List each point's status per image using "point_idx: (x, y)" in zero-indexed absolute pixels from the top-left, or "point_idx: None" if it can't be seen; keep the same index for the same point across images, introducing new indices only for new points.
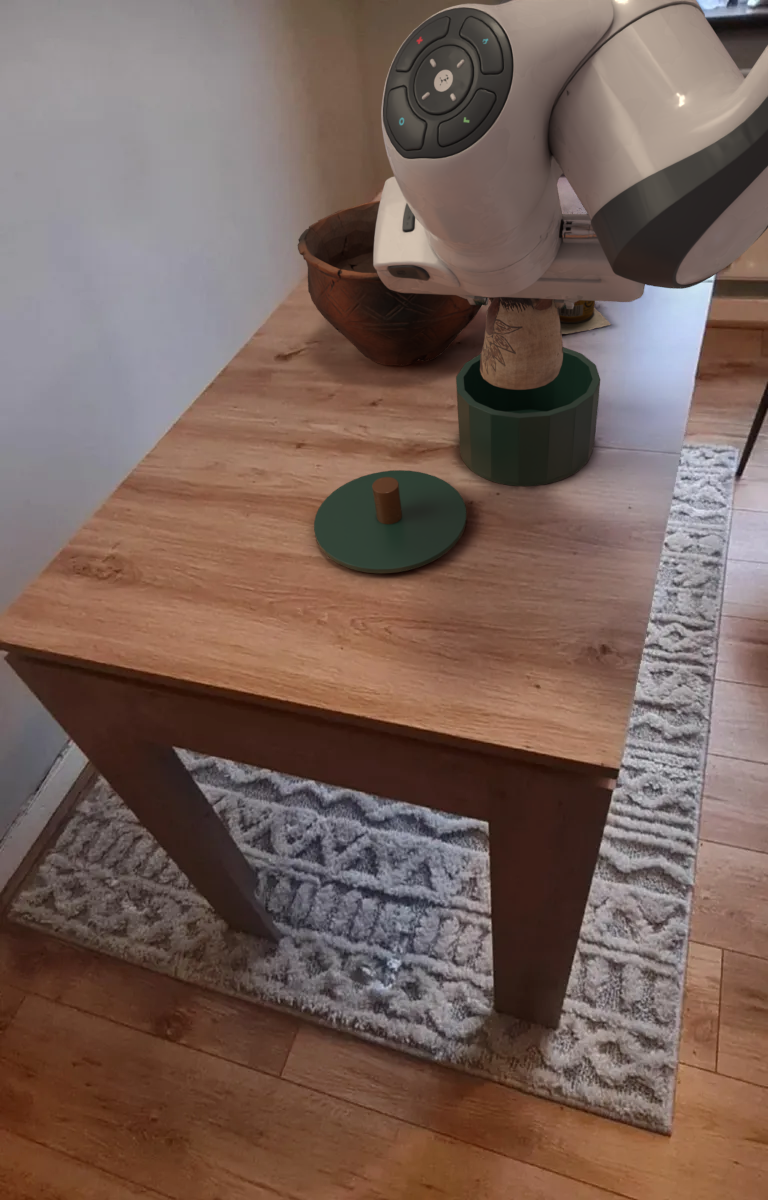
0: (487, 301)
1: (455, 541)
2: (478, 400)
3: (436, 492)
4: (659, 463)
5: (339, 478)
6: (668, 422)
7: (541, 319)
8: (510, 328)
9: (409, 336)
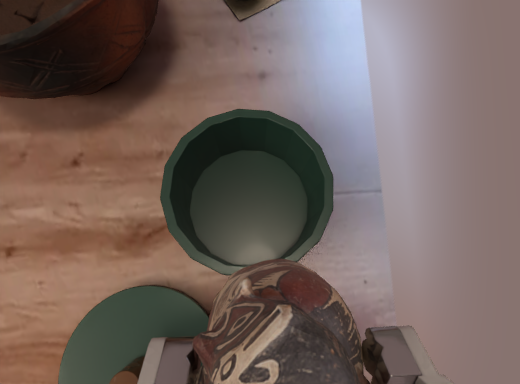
0: (199, 359)
1: None
2: (190, 175)
3: (181, 318)
4: (375, 208)
5: (70, 300)
6: (369, 144)
7: None
8: None
9: (79, 91)
